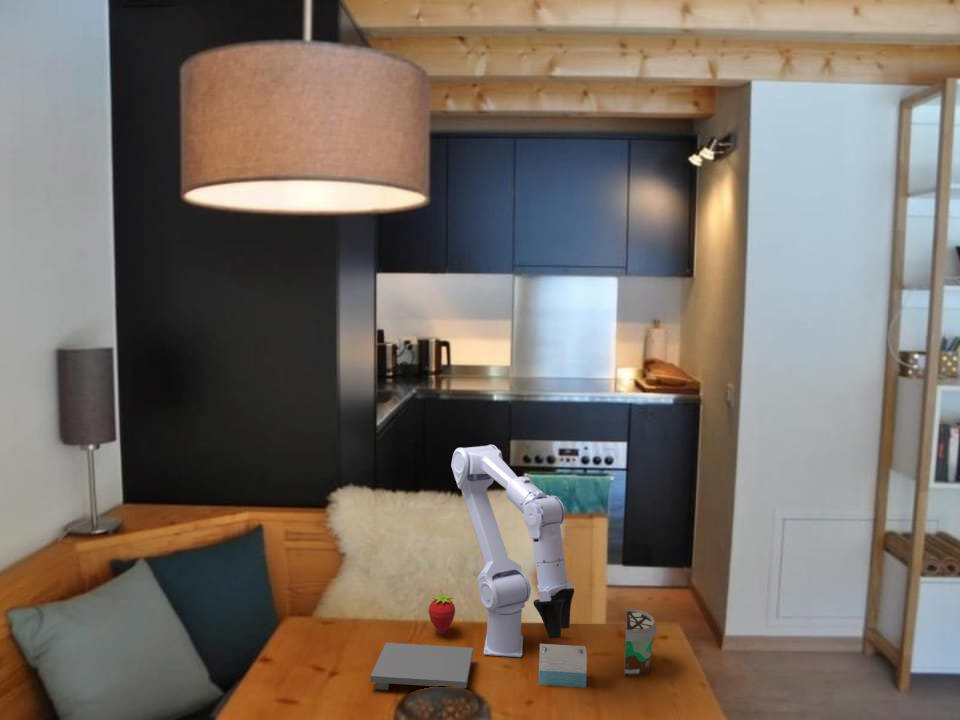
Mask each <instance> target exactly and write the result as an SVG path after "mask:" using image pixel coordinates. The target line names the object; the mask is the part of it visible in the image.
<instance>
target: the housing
mask: <svg viewBox="0 0 960 720" xmlns="http://www.w3.org/2000/svg"><path fill="white" fill-rule="evenodd" d="M587 656H588V655H587V648H586V646H585V645H572V644H571V645H569V644H553V643H552V644H550V643H539V657H538V658H539V660H538V685H539V686H548V685H552V686H551V687H564V686H565V687H568V688H581V689H584V688H587V666H588V665H587V664H588V657H587Z"/></svg>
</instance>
